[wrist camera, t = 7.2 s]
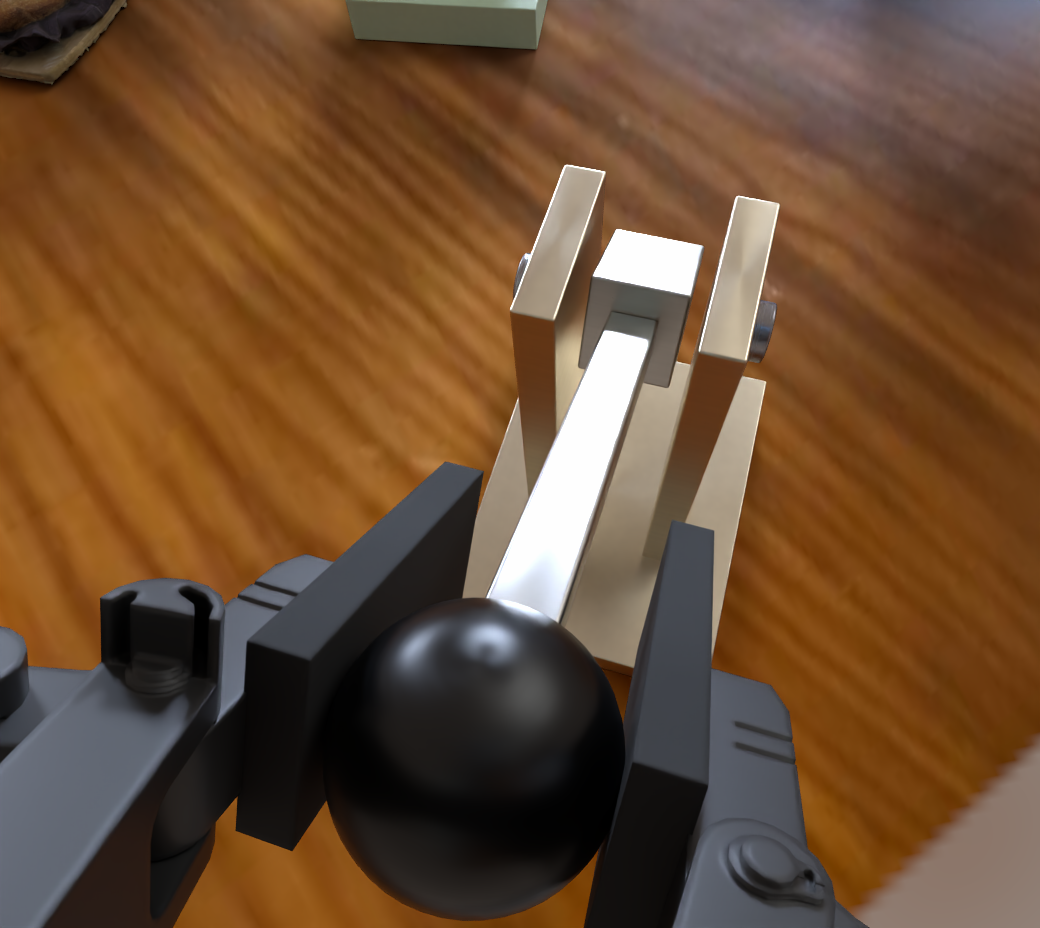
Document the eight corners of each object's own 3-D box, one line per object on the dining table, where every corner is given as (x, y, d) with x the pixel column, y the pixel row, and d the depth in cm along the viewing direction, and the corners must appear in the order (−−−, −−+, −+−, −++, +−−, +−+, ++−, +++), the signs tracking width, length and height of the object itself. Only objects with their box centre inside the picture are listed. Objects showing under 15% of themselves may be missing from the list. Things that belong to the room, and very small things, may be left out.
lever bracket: (699, 696, 26) (825, 564, 13) (447, 622, 27) (353, 441, 15) (758, 399, 31) (890, 102, 18) (541, 351, 32) (529, 46, 20)
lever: (566, 1016, 9) (615, 887, 6) (282, 910, 9) (235, 755, 7) (705, 358, 20) (741, 226, 18) (572, 329, 21) (591, 198, 19)
